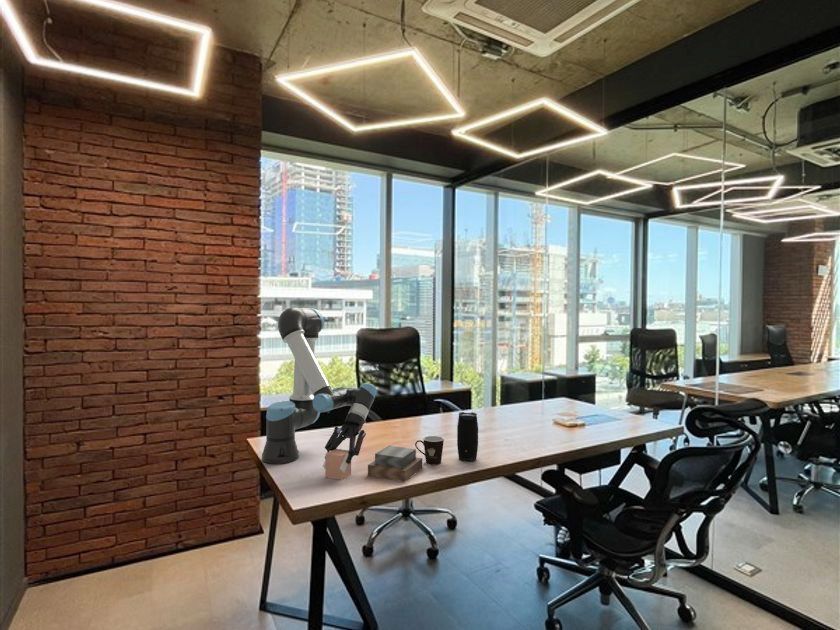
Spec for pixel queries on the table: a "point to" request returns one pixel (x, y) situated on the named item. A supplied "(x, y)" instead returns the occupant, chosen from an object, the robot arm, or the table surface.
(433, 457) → the coffee mug
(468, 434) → the portable speaker
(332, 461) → the terracotta brick
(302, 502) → the table surface
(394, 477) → the block tower
